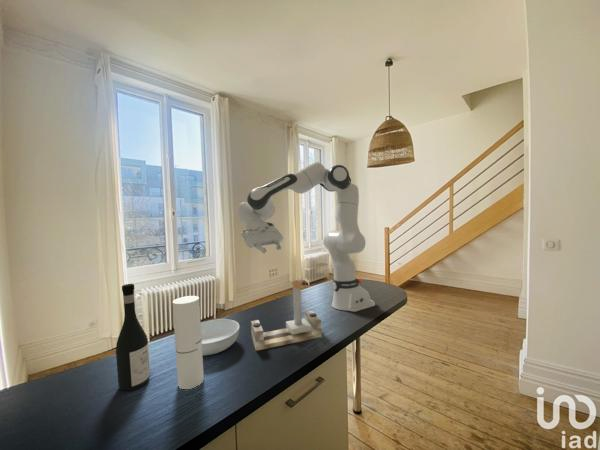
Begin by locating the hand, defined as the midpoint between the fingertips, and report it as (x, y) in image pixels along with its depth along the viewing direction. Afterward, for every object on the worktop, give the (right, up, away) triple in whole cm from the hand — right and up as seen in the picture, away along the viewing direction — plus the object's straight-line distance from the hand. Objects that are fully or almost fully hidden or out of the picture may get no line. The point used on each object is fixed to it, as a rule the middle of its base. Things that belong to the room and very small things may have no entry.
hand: (272, 250), depth 119 cm
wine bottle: (-37, -36, -41) cm, 66 cm away
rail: (+7, -33, -16) cm, 37 cm away
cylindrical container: (-20, -35, -42) cm, 58 cm away
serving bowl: (-20, -35, -22) cm, 46 cm away
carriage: (+12, -30, -15) cm, 35 cm away
